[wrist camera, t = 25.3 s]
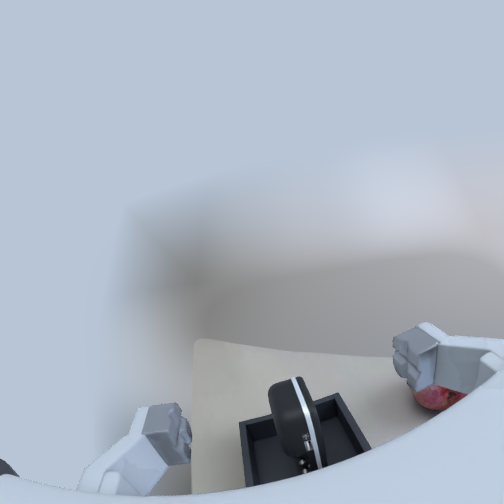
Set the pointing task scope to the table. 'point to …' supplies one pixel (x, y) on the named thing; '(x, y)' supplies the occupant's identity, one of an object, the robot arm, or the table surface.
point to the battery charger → (298, 424)
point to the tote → (283, 467)
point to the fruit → (437, 397)
